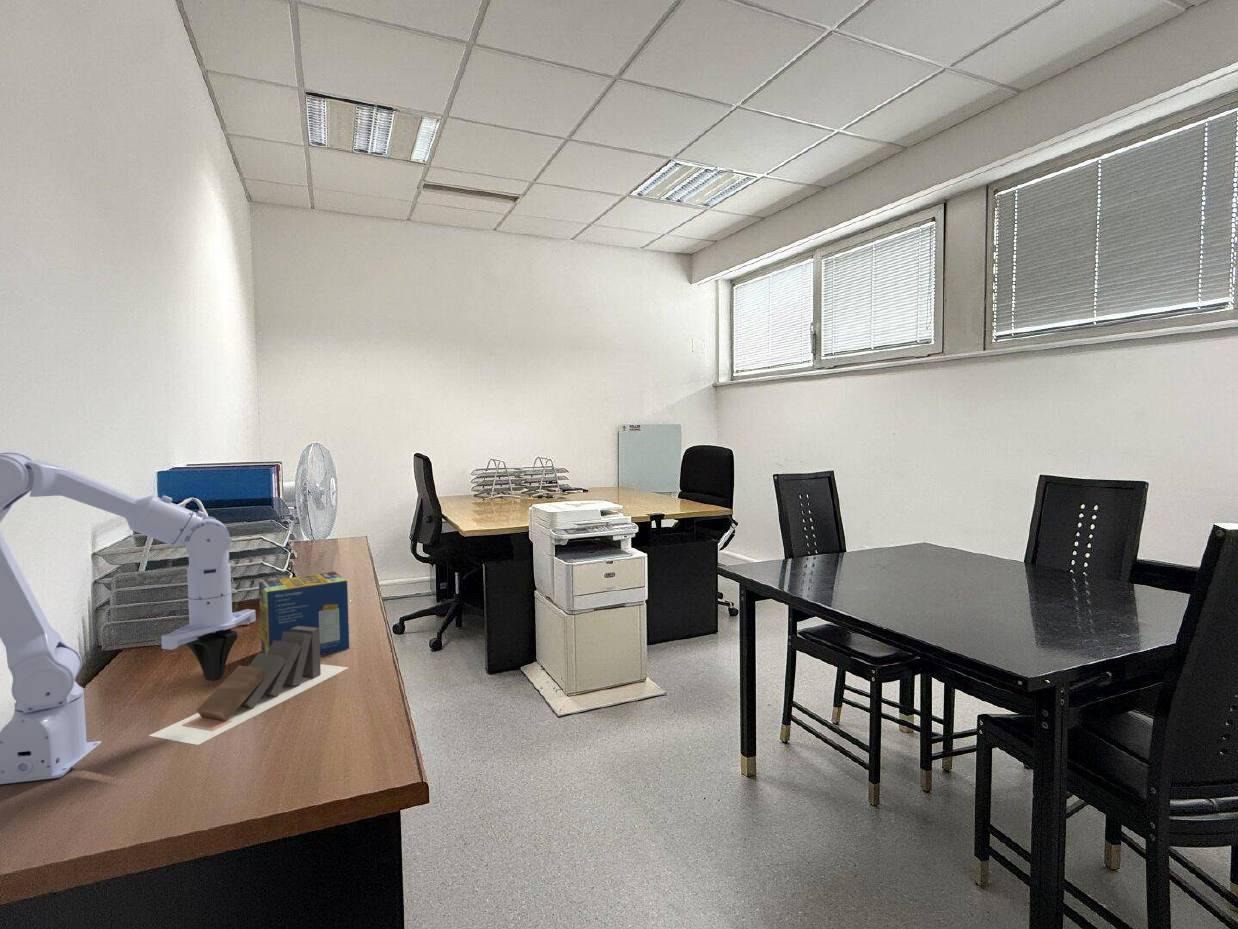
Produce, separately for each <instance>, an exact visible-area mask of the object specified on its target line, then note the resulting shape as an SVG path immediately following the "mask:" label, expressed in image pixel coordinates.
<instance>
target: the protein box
mask: <svg viewBox="0 0 1238 929" xmlns="http://www.w3.org/2000/svg"><path fill="white" fill-rule="evenodd" d="M258 591H259V592H258V594H259V616H260V642H261V643H260V644H261V653H265V654H267V652H268V651H269V649H270V647H271V645H272V643H273V641H274V640H276V641H281V639H282V635H283V631H286V632H291V628H294V627H297V626H304V627H314V628H319V629H320V656H321V655H325V654H330V653H331V654H332V653H335V652H340V651H345V650H349V649H350V630H349V629H350V628H349V627H350V626H349V597H348V596H349V595H348V593H349V592H348V580H346V579H345V578H343V577H342V576H341V575H340V574H338V573H337V571H329V572H322V573H315V574H314V573H313V574H309V575H308V574H307V575H301V576H294V577H293V576H292V577H287V578H280V579H274V580H265V581H258Z"/></svg>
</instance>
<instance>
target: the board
mask: <svg viewBox="0 0 1238 929" xmlns="http://www.w3.org/2000/svg"><path fill="white" fill-rule="evenodd" d="M347 669H349V667H348V666H340V665H332V664H331V665H330V664H323V663H322V664H321V663H320V670H321V675H320V676H318V677H316V678H314V679H312V678H304V677H302V679H301V683H300V685H285V684H283V686H282V688H281V690H280V692H279V695H278V697H276V696H270V695H262V697H261V698H260V699H259V701H258V702H257V704H256V705H255V707H254V708H253V709H250V708H243V707H238V708H237V709H236V711H235V712H234V713H233V714H232V715H231V716H230V717H229V719H228V720H227V721H226V722H224V721H218V720H213V719H207V718H202V717H201V716H200V714H199V713H198V712H196V713H195V714H192V715H191V716H189V717H188V716H187V717H186V718H184V719H182V720H179V721H177V722H175V723H173V724H171V725H168V726H167V727H164V728H161V729H160V730H157V731H155V732H154V733H151V734H149V735H148V737H153V738H157V739H163V740H168V741H174V742H180V743H184V744H188V745H189V744H190V745H195V746H200V745H201V744H203V743H205V742H207V741H208V740H211V739H213V738H215V737H218V735H220V734H222V733H225V732H227V731H229V730H231V729H233V728H234V727H237V726H238V725H240V724H242V723H244V722H246V721H248V720H250V719H252V718H254V717H256V716H258V715H259V714H262V713H263V712H265V711H267V710H269V709H272V708H273V707H276V706H277V705H280V704H281V703H283V702H285V701H287V700H290V699H291V698H293V697H295V696H297V695H299V694H301V693H302V692H305V691H306V690H309V689H310V688H312V687H315V686H316V685H319V684H321V683H322V682H324V681H326V680H329V679H330V678H333V677H335V675H338V674H340V673H341V672H344V671H346V670H347Z"/></svg>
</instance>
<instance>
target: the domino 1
mask: <svg viewBox="0 0 1238 929" xmlns="http://www.w3.org/2000/svg"><path fill="white" fill-rule="evenodd" d="M265 677H266V674H265V673H264V671H263V670H262V669H261V668H254V667H248V666H245V665H244V666H243V665H238V666H236V668H235V669H234V670H233V671H232V672H231V673H230V674H229V675H228V676H227V677H226V679H225V680H224V681H223V682H222V683H221V684H220V685H219V686H218V687H217V688H216V689H215V690H214V692H212V694H211V695H209V696H208V698H206V700H205V701H204V702H203V703H202V704H201V705H200V706H199V707H198V708H197V709H196V710H195V711H196V713H199V714H200V716H201V717H202V718H207V719H213V720H218V721H224V722H226V721H227V720H228V719H229V717H230V716H231V715H232V714H233V713H234V712H235V711H236V709H237V708H238V707H239V706H240V705H241V704H242V703H243V702H244V700H245V699H246V698H247V697H248V696H249V695H250V694H251V693H252V691H253V690H254V689H255V688H256V687H257V686H258V685H259V684H260V682H261V681H262V680H263V679H264V678H265Z"/></svg>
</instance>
